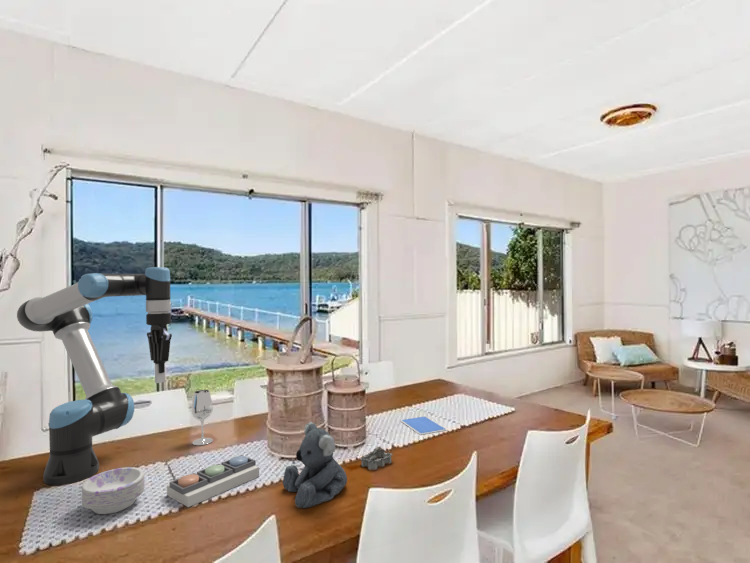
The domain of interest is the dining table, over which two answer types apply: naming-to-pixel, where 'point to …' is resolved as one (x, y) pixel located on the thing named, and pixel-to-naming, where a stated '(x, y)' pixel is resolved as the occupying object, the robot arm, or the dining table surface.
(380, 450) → the egg carton
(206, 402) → the wineglass
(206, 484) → the console
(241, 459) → the button slate
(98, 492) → the paper bowls
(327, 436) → the koala plush
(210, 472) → the button sage
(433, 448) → the dining table surface
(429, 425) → the tablet computer
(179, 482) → the button terracotta
